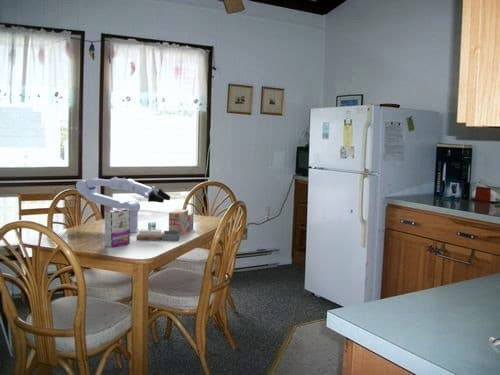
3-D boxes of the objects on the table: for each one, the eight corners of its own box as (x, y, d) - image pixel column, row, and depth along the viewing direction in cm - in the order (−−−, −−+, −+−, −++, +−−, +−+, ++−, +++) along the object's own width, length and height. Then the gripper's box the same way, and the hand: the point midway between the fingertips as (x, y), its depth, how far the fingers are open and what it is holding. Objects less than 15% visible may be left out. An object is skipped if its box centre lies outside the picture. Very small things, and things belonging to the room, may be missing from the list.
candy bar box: (122, 242, 225) (122, 207, 224) (130, 243, 223) (130, 209, 221) (103, 246, 216) (104, 210, 214) (111, 247, 213) (111, 211, 212)
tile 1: (139, 235, 233) (139, 231, 233) (140, 233, 237) (140, 229, 237) (148, 235, 233) (148, 231, 233) (149, 233, 238) (149, 229, 237)
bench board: (136, 240, 230) (136, 236, 230) (140, 235, 241) (140, 231, 240) (161, 241, 230) (161, 237, 230) (163, 236, 241) (163, 232, 241)
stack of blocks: (182, 228, 264) (183, 206, 263) (193, 229, 263) (194, 207, 261) (168, 236, 243) (168, 212, 242) (179, 237, 242) (180, 213, 241)
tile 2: (150, 235, 233) (150, 231, 233) (151, 233, 238) (151, 229, 237) (159, 235, 233) (159, 231, 233) (161, 233, 238) (161, 229, 238)
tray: (161, 240, 231) (161, 234, 231) (164, 236, 241) (164, 230, 241) (178, 241, 231) (178, 235, 231) (180, 236, 241) (180, 231, 241)
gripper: (138, 185, 239) (162, 194, 237) (151, 181, 253) (174, 190, 250) (135, 198, 241) (158, 207, 238) (148, 194, 255) (171, 202, 252)
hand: (166, 199), depth 244 cm, fingers open, 7 cm apart
